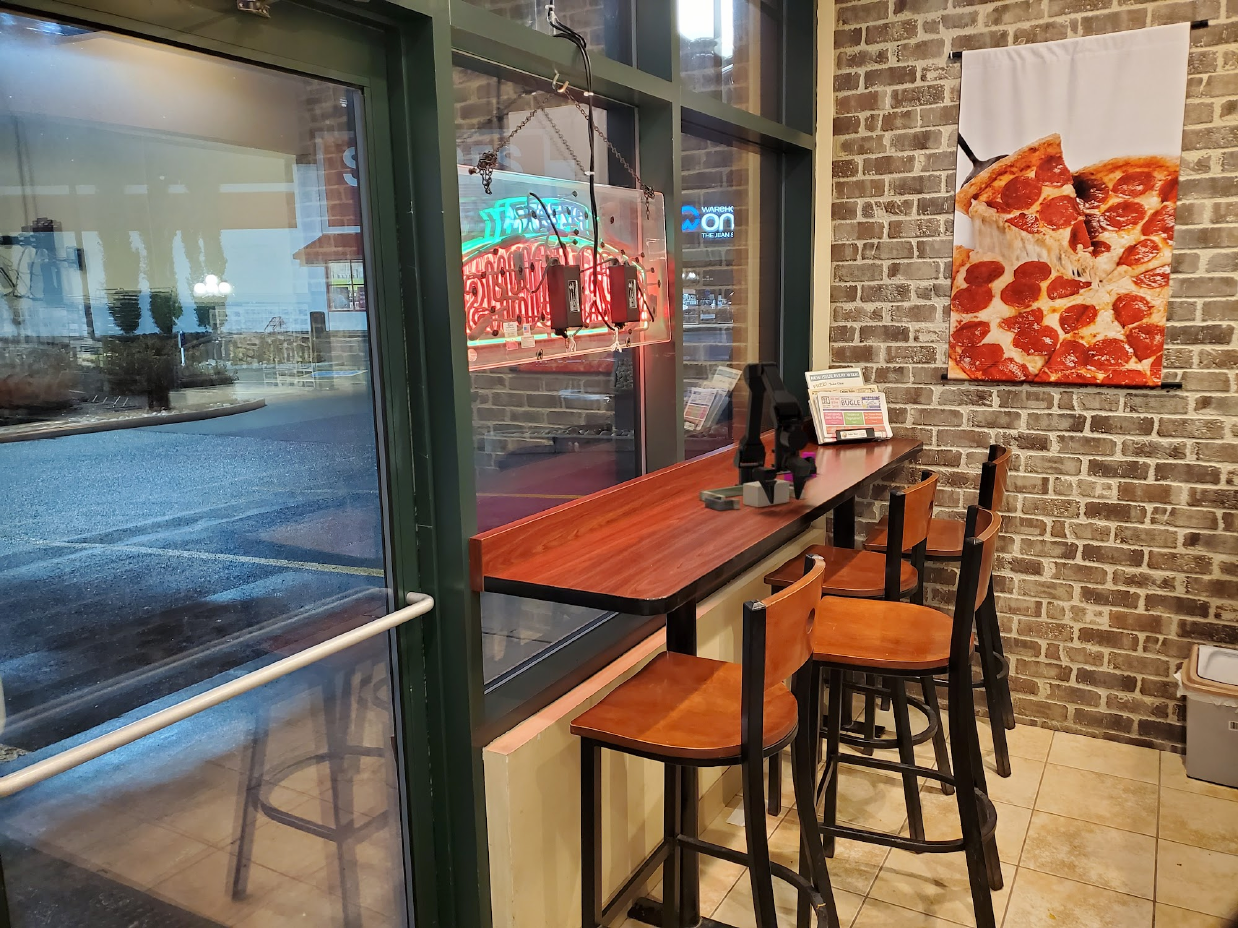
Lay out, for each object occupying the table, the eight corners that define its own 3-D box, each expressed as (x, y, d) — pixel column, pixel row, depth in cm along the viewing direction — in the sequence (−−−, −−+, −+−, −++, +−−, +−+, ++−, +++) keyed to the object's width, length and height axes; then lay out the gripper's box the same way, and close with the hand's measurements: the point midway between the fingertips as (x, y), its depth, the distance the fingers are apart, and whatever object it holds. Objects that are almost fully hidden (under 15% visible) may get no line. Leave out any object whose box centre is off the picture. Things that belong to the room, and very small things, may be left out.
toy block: (802, 483, 295) (802, 459, 293) (784, 481, 298) (784, 458, 297) (822, 476, 306) (822, 453, 305) (805, 474, 310) (805, 452, 309)
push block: (743, 504, 264) (743, 483, 263) (774, 499, 270) (774, 478, 269) (757, 507, 259) (757, 486, 258) (789, 502, 266) (789, 481, 265)
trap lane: (686, 501, 269) (686, 492, 269) (778, 488, 286) (778, 480, 285) (722, 511, 254) (722, 502, 254) (816, 496, 271) (816, 488, 271)
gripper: (777, 452, 244) (777, 511, 246) (831, 445, 253) (830, 502, 255) (750, 447, 253) (750, 504, 256) (803, 441, 262) (803, 496, 265)
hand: (784, 501), depth 258 cm, fingers open, 9 cm apart
